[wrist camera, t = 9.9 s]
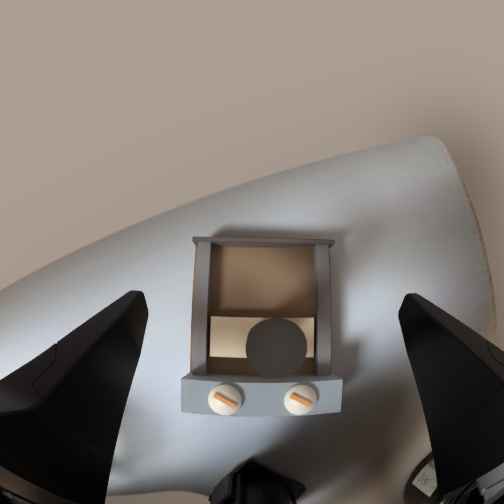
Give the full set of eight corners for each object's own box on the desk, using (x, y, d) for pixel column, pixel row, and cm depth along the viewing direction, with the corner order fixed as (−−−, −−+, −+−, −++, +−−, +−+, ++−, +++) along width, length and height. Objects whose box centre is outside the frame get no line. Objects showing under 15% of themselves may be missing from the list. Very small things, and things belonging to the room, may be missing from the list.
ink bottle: (469, 431, 18) (539, 451, 6) (455, 486, 15) (510, 516, 4) (405, 460, 17) (475, 506, 6) (391, 516, 15) (440, 566, 3)
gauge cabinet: (325, 399, 20) (343, 413, 15) (192, 398, 20) (179, 413, 15) (327, 371, 20) (345, 380, 16) (192, 370, 20) (179, 379, 16)
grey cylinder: (310, 355, 20) (373, 380, 9) (211, 355, 20) (170, 382, 9) (310, 318, 21) (374, 304, 10) (212, 316, 21) (172, 303, 10)
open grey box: (325, 399, 20) (334, 406, 17) (192, 398, 20) (186, 406, 17) (325, 249, 23) (333, 240, 21) (198, 246, 23) (192, 236, 21)
